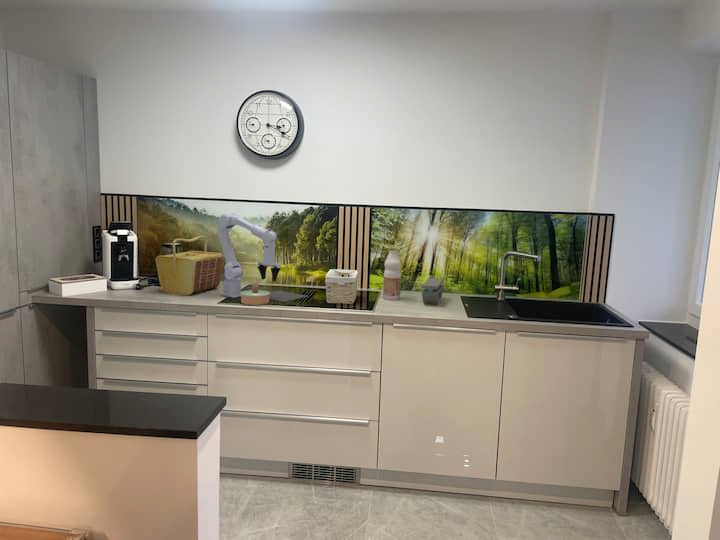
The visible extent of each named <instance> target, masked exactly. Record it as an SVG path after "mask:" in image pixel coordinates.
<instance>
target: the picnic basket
mask: <svg viewBox="0 0 720 540" xmlns="http://www.w3.org/2000/svg"><path fill="white" fill-rule="evenodd" d="M201 238H203V239H204V245H203V249H204V250H203V251H201V250H200V251H199V250H188V251H183V252H176V242H178V241H182V242H184V243H192V242H195V241H196V242H197V240H199V239H201ZM207 243H208V239H207V237H206V236H205V235H198V236H195V237H193V238H191V239H190V238H189V239H187V238H176V239H174V240H173V241H172V254H171V253H170V254H165V255H158V256H156V257H155V265H156V270H157V274H158V278H159V283H160V288H161V290H162V291H163V292H164V293H167V294H173V295H180V296H181V295H182V296H190V295H193V294H195V293H199V292H203V291H207V290H210V289H217V288H218V287H219V286H220V284H221V278H222V272H223V268H224V262H225V257H224V253H221V252H212V251H207V250H208V249H207V248H208V246H207V245H208V244H207Z"/></svg>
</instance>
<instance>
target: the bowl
mask: <svg viewBox="0 0 720 540" xmlns="http://www.w3.org/2000/svg"><path fill="white" fill-rule="evenodd" d="M240 297H241V298H240V299H241V300H240V302H241V304H243V305H245V306H263V305H268V304H270V300H269V295H267V296H260V297H249V296H243V295H241V296H240Z"/></svg>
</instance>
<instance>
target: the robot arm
mask: <svg viewBox="0 0 720 540" xmlns="http://www.w3.org/2000/svg"><path fill="white" fill-rule="evenodd" d="M217 222H218V223H217V224H218V225H217V234H218V238H219V242H220V246H221V248H222V252H223V253H222V254H223V256H224V261H225V264H224V266H223V268H224V277H225V279H224V280H223V282H222V294H221V296H224V297H229V298H239V297H241V294H240V292H242V280H241V279H242V277H243V275H244V270H243V268H242V267H241V264H240V262H238V261H237V259H236V255H235V251H234V247H233V243H232V240H231V236H230V231H231V230H232V228H233V227H235V226H237V225H238V226H239V227H242V228H244V229H246V230H248V231H250V234H251V235H253V236H255V237H256V238H258V239H260V240H261V241H262V243H263V261H262V260H260V261H259V260H258V261H257V266H256V267H257V269H258V271H259V274H260V277H261V279H262V280H266V277H267V269H268V267H270V271H271V280H272V282H276V281H277V278H278V275H279V273H280V271H281V263H277V262H275V257H276V255H275V253H276V251H275V250H276V249H275V248H276V247H275V244H276V240H277V237H278V236H277V233H276V232H274V230H269V229H268V228H264V227H263V226H262V225H261V224H260V223H259V224H257V223H255V224H253V223H252V222H250V221H248V220H246V219H244V218H242V217H241V216H240V215H238V214H235V213H227V214H225V213H224V214H221V215H220V216H219V217H218V219H217Z"/></svg>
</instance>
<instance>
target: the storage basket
mask: <svg viewBox="0 0 720 540" xmlns="http://www.w3.org/2000/svg"><path fill="white" fill-rule="evenodd" d="M340 275H341V276H340ZM342 275H343V276H342ZM344 275H346V276H347V275H348V276H347V277H346V276H344ZM358 277H359V271H358V270H356V269H339V268H338V269H335V268H333V269H329V271H328V272H326V275H325V280H324V282H325V283H324V284H325V294H326V295H325V296H326V302H327V303H328V304H341V303H342V304H344V305H345V304H346V305H353V304H354V303H355V301H356V299H357V295H358V294H357V290H358V284H357V283H358Z"/></svg>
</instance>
